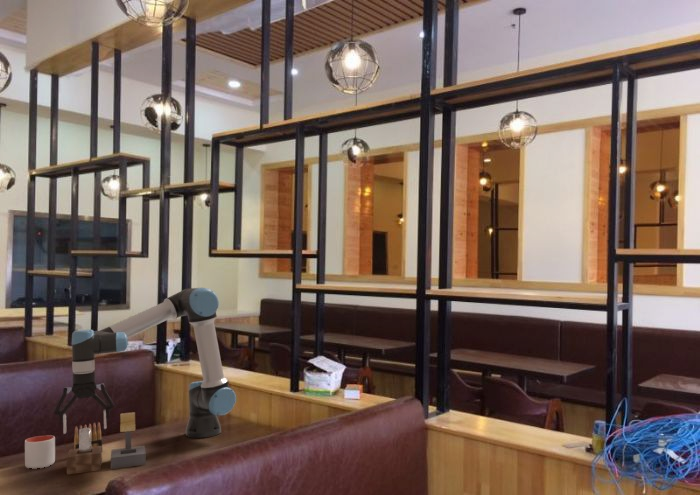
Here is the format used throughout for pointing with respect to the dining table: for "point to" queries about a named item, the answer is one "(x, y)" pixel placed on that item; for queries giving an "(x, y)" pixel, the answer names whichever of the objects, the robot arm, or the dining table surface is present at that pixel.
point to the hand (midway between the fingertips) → (85, 430)
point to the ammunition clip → (95, 436)
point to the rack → (84, 460)
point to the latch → (127, 422)
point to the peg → (84, 440)
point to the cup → (39, 451)
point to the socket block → (128, 455)
